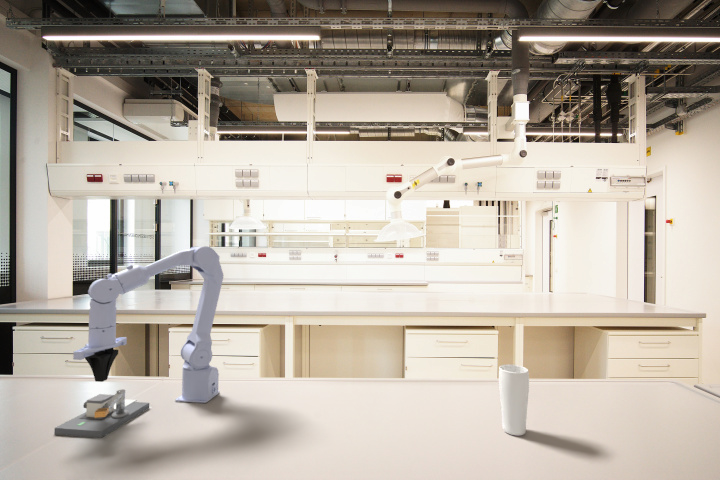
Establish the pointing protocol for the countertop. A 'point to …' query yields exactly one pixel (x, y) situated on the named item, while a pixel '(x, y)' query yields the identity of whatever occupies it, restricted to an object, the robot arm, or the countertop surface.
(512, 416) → the drinking glass
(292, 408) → the countertop surface
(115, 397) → the orange-tipped grey rod
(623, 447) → the countertop surface
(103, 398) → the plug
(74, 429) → the grey flat board
